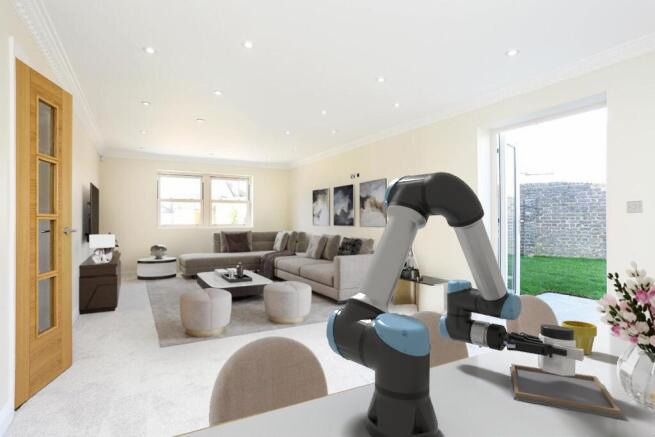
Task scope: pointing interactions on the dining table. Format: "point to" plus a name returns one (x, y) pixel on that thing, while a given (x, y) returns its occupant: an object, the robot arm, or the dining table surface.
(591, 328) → the plant pot
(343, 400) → the dining table surface
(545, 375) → the square tray
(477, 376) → the dining table surface
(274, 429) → the dining table surface
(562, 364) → the jar
